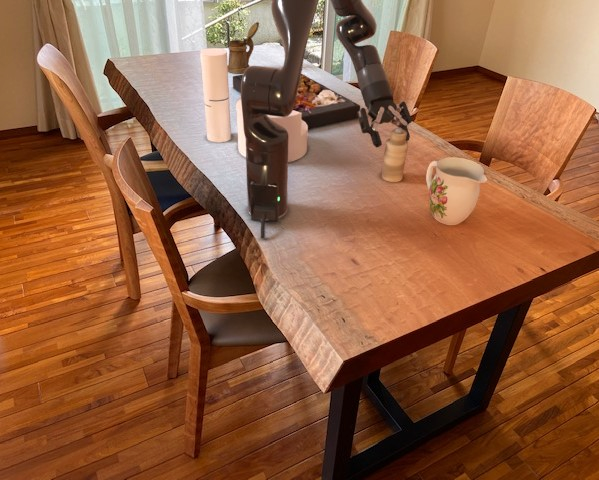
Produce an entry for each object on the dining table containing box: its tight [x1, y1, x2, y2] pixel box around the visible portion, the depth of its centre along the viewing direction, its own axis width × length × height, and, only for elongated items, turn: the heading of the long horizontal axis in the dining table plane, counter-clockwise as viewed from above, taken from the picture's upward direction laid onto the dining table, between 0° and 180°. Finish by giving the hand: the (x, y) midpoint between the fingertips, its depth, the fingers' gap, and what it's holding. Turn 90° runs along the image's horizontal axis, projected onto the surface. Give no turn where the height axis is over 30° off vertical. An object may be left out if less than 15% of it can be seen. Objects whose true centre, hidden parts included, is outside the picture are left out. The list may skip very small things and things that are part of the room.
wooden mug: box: [227, 21, 260, 74], centre depth 198 cm, size 9×14×18 cm, turn 112°
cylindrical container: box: [199, 47, 232, 144], centre depth 142 cm, size 7×7×25 cm
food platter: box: [232, 73, 361, 131], centre depth 172 cm, size 45×25×10 cm, turn 32°
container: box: [235, 97, 309, 163], centre depth 141 cm, size 20×20×13 cm
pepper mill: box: [380, 127, 409, 183], centre depth 129 cm, size 6×6×14 cm
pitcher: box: [425, 156, 488, 226], centre depth 114 cm, size 11×18×14 cm, turn 24°
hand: (393, 143), depth 129 cm, fingers open, 8 cm apart
